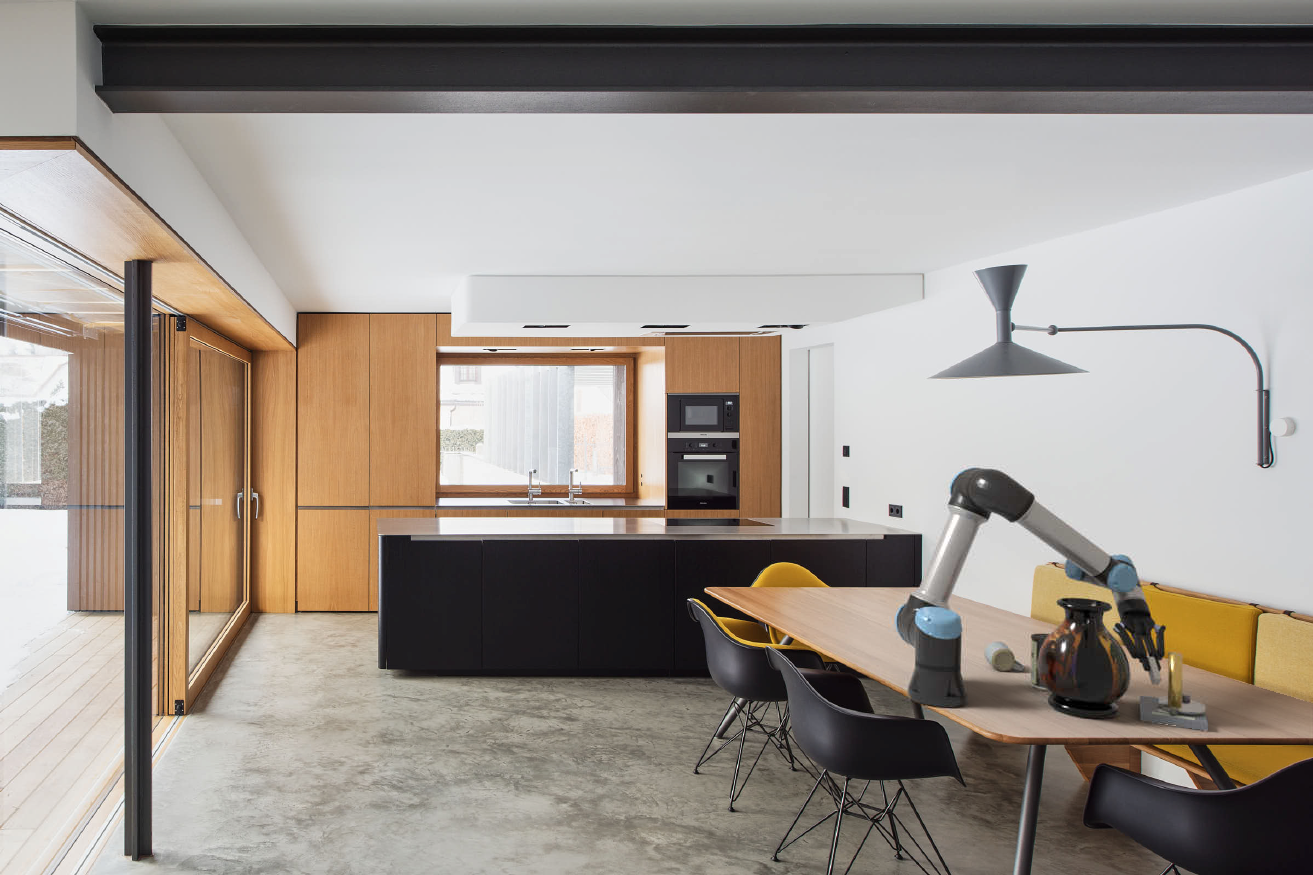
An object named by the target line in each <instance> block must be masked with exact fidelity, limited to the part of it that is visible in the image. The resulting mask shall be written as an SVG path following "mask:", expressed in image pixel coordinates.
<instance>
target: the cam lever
mask: <svg viewBox="0 0 1313 875" xmlns="http://www.w3.org/2000/svg"><path fill="white" fill-rule="evenodd" d="M1183 655H1184V654H1183V653H1180V652H1175V651H1174V652H1173V651H1169V652H1168V660H1167V661H1168V664H1167V665H1168V666H1167V668H1168V669H1167V670H1168V672H1167V679H1168V680H1167V696H1162V697H1158V698H1159V707H1160V708H1162V709H1164V710H1167V711H1169V710H1170V709H1171V708H1174V709H1176V710H1177V712H1178V714H1184V715H1204V714H1205V715H1206V705H1205V704H1204V703H1202V702H1199V701H1197V700H1194V699H1191V695H1189V694H1185V693H1184V694H1183V664H1184V663H1183V661H1184V659H1183V658H1184V657H1183Z"/></svg>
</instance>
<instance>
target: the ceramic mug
mask: <svg viewBox="0 0 1313 875" xmlns="http://www.w3.org/2000/svg"><path fill="white" fill-rule="evenodd" d="M984 658H985V660H986V662H988V664H990V665H991V667H992V668H994V669H995V670H997V671H998V672H999V671H1000V672H1008V671H1010V670H1012V669H1015V670H1017V671H1019V672H1022V671H1023V670H1024V669H1025V666H1024V665H1023V664H1022V663H1021V662H1019V661H1017V660H1016V658H1015V655H1014V653H1013V652H1012V650H1011V649H1010V648H1009V647H1008V645H1006V644H1005V643H1004V642H1002V641H996V640H995V641H991V642H989V643H988V644H987V645H986V647H985V648H984Z"/></svg>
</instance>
